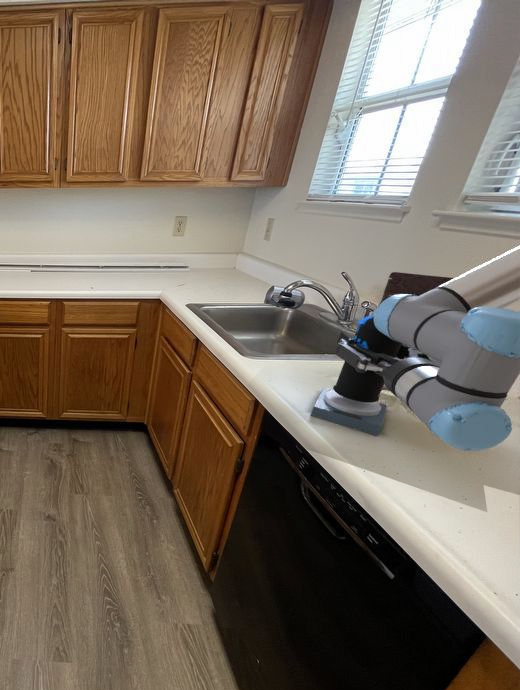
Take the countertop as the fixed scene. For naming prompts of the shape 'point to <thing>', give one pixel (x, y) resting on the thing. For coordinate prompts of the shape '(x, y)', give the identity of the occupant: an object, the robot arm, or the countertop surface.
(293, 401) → the countertop surface
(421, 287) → the protein powder
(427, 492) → the countertop surface
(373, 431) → the kitchen scale
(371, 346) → the aerosol can
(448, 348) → the robot arm
